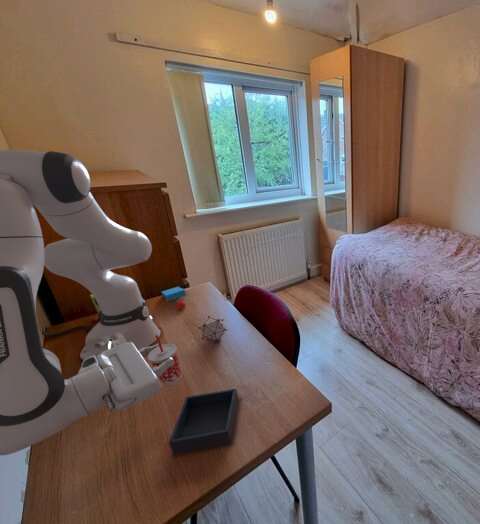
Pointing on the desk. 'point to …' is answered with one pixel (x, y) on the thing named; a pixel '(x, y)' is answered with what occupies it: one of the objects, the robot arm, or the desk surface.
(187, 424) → the tote
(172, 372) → the beverage cup
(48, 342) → the desk surface
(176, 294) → the lever
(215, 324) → the game die
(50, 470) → the desk surface
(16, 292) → the robot arm
